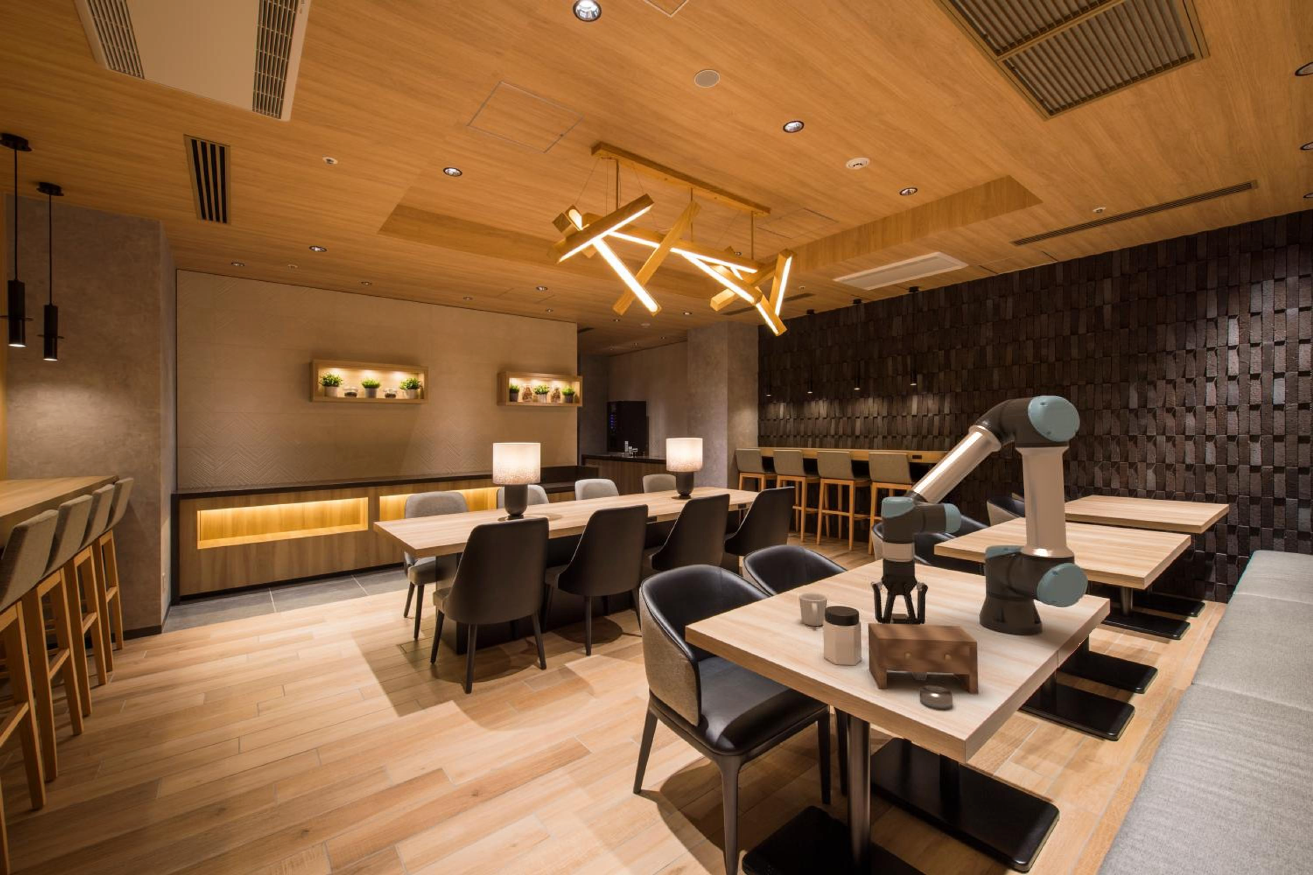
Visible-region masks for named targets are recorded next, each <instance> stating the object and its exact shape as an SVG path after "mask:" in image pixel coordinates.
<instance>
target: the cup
mask: <svg viewBox="0 0 1313 875" xmlns="http://www.w3.org/2000/svg"><path fill="white" fill-rule="evenodd" d="M798 598H799V608H800V616H801V620H802V622H803V624H805V625H807V626H813V627H818V626H819V627H820V626H823V620H825V609H826V608H827V604H828V597H827V596H826V595H824V594H822V593H821V594H820V593H816V592H806V593H801V594H799V597H798Z"/></svg>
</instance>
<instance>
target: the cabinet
mask: <svg viewBox="0 0 1313 875" xmlns="http://www.w3.org/2000/svg"><path fill="white" fill-rule="evenodd" d="M867 628H868V629H867V630H868V632H867V634H868V670H869V673H870V675H871V676H872V678H873V680H874V681H875V684H876V685H877V688H878V689H879V690H881V689H882V690H888V686H887V685H888V682H887V680H888V679H887V678H888V676H887V674H888V672H908V673H909V672H910V673H911V672H927V674H928V673H929V674H930V673H931V674H934V673H935V674H950V675H951V674H952V675H953V676H954V677H955V678H956V679H957V680H958V682H959V683H960V684H961V685H962V686H963V687H964V688H965V690H966V691H968V693H969V694H975V695H976V694H977V695H979V673H978V672H979V671H978V670H979V669H978V668H979V666H978V665H979V664H978V663H979V661H978V641H977V640H976V639H975V638H974V637H972V636H971V635H970V634H969V633H968V632H966V631H965V630H964V629H963V628H962V626H960V625H938V624H935V625H934V624H933V625H932V624H931V625H930V624H919V625H911V624H882V623H879V622H877V623H875V622H874V623H873V622H868V623H867Z"/></svg>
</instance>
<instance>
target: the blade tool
mask: <svg viewBox="0 0 1313 875" xmlns="http://www.w3.org/2000/svg"><path fill="white" fill-rule="evenodd" d="M890 623H891V624H911V622H910V618H909V616H908V613H893V612H892V616H891V621H890ZM910 673H911V675H912V676H913V678H914V680H916V681H928V673H927V672H910Z"/></svg>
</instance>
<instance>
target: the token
mask: <svg viewBox="0 0 1313 875" xmlns="http://www.w3.org/2000/svg"><path fill="white" fill-rule="evenodd" d="M953 698H954V697H953V693H952V691H950V690H948V689H947V688H944V687H941V686H938V685H922V686H921V687H919V702H920V704H921V705H922V706H924V707H926V708H928V709H932V710H936V711H949V710H952V709H953V707H954V706H953V705H954V704H953V703H954V702H953Z"/></svg>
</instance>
